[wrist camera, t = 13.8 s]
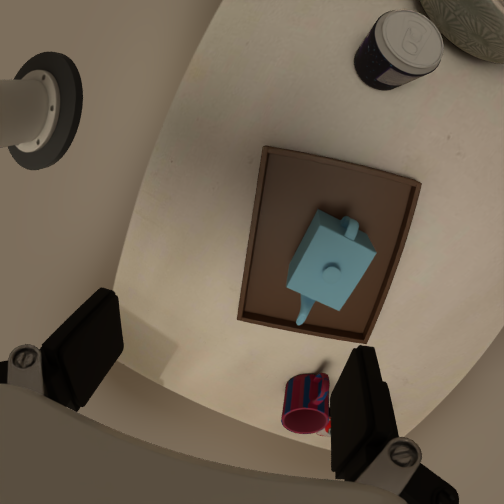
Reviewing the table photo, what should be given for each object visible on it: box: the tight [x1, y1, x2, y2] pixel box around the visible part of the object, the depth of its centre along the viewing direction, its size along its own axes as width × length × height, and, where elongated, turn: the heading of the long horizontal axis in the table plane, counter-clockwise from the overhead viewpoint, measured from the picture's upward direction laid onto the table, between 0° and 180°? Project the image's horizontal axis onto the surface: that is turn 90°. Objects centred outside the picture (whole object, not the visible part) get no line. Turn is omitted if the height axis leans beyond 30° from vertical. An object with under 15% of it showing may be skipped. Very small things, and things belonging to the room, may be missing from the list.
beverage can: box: [354, 9, 444, 90], centre depth 20 cm, size 6×6×12 cm
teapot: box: [286, 209, 377, 325], centre depth 31 cm, size 12×6×8 cm, turn 157°
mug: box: [281, 373, 329, 434], centre depth 40 cm, size 7×10×7 cm
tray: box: [237, 146, 422, 344], centre depth 34 cm, size 17×21×2 cm
